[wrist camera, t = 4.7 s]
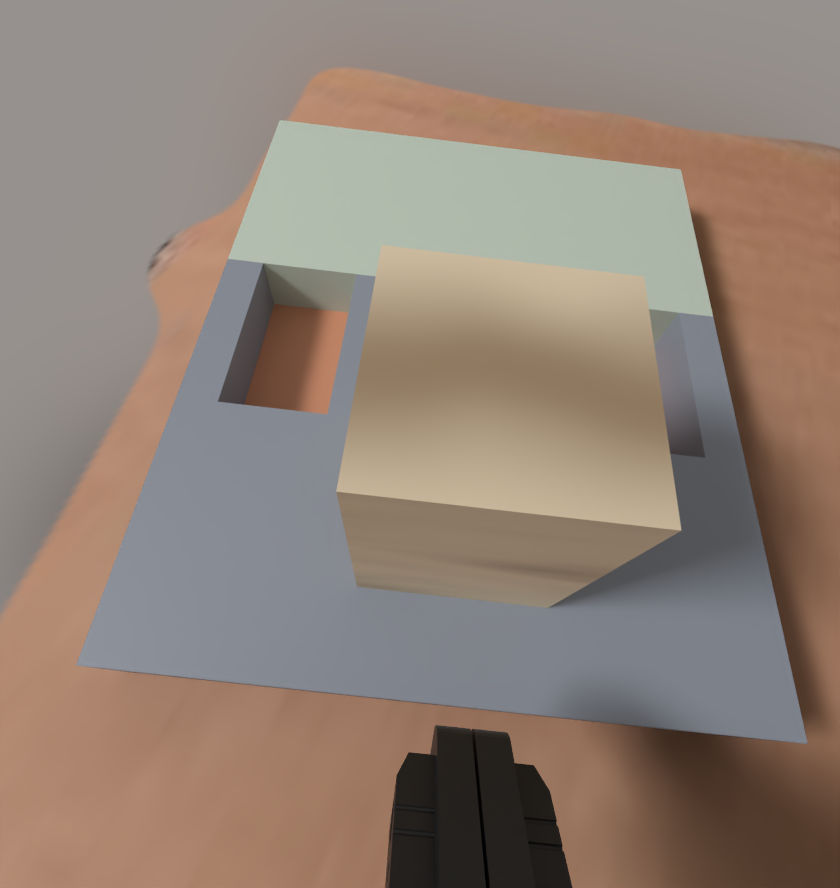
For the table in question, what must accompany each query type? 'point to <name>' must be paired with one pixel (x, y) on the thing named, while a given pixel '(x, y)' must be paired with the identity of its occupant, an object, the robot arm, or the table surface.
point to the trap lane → (323, 439)
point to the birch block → (503, 430)
